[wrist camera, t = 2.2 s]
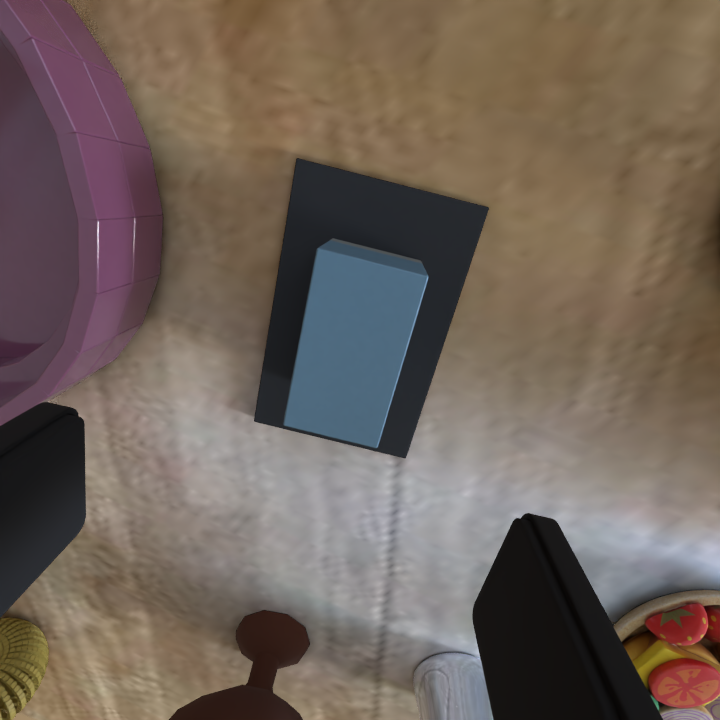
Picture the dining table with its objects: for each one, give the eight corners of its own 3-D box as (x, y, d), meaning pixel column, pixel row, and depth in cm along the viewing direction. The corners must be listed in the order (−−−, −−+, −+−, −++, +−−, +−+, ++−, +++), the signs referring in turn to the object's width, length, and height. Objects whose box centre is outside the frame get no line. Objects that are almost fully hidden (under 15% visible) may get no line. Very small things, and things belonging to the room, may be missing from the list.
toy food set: (846, 628, 27) (904, 683, 23) (699, 734, 31) (732, 791, 28) (673, 549, 25) (712, 597, 22) (547, 672, 30) (564, 725, 27)
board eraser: (332, 238, 20) (316, 247, 16) (421, 260, 20) (429, 276, 16) (302, 385, 23) (282, 425, 19) (379, 404, 23) (377, 449, 19)
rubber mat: (298, 158, 19) (296, 157, 19) (487, 207, 19) (489, 207, 19) (255, 418, 24) (253, 421, 24) (405, 454, 24) (405, 458, 24)
